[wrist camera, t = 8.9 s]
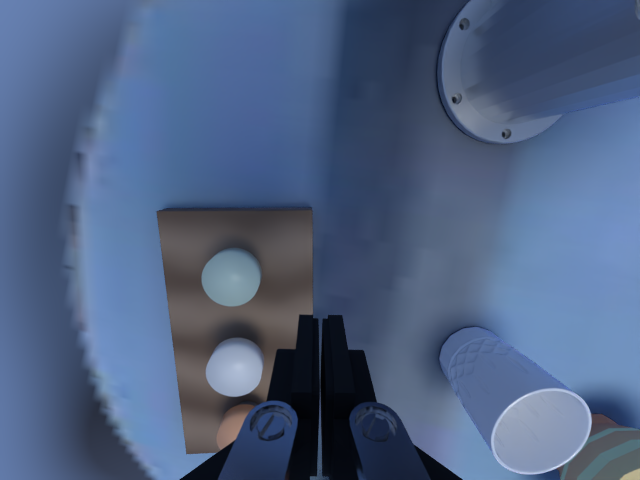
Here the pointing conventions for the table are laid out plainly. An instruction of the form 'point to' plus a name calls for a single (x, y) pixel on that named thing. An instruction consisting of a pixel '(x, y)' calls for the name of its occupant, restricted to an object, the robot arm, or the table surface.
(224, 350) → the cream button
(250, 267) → the sage button
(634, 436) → the potted cactus
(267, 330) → the button panel
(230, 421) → the terracotta button
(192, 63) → the table surface
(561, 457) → the white cup
